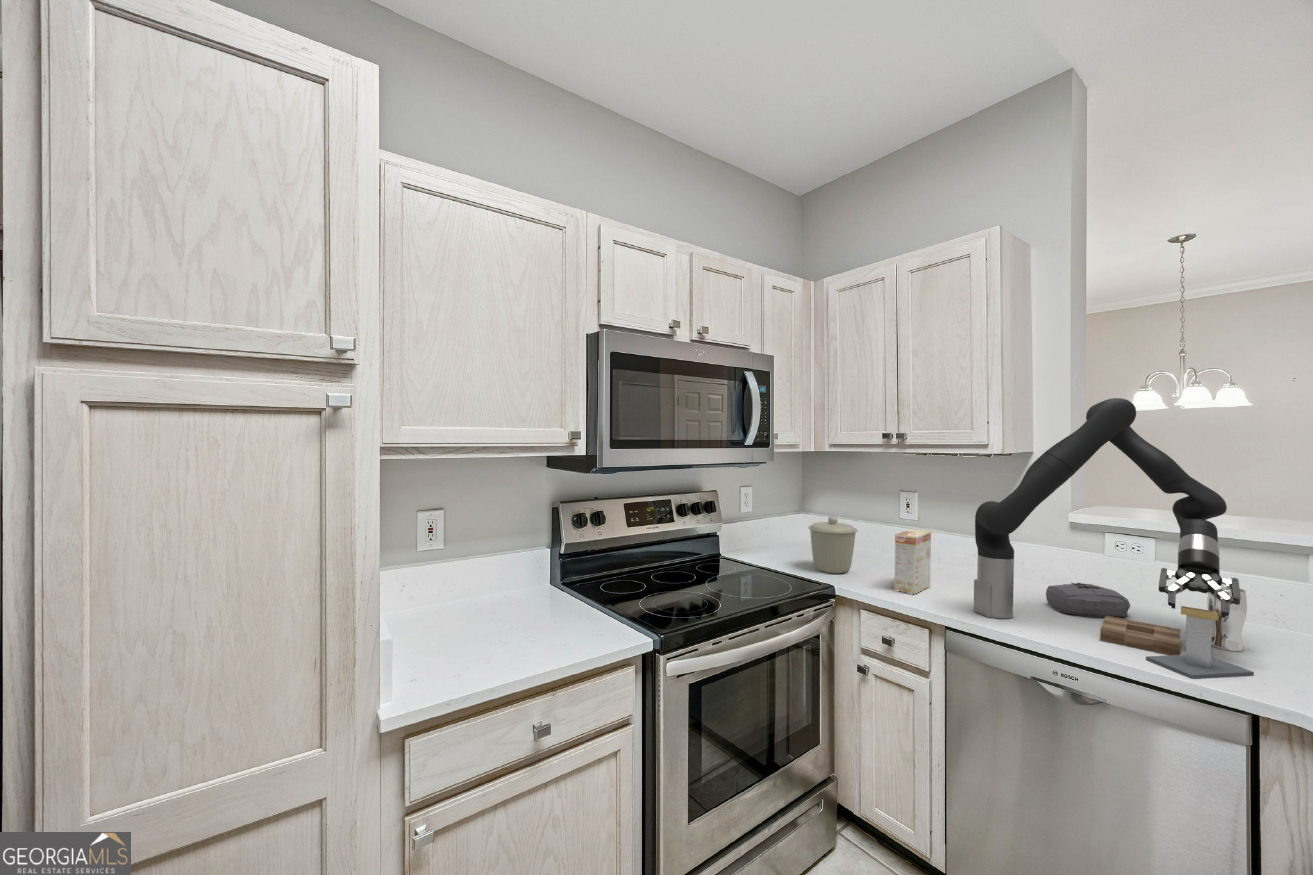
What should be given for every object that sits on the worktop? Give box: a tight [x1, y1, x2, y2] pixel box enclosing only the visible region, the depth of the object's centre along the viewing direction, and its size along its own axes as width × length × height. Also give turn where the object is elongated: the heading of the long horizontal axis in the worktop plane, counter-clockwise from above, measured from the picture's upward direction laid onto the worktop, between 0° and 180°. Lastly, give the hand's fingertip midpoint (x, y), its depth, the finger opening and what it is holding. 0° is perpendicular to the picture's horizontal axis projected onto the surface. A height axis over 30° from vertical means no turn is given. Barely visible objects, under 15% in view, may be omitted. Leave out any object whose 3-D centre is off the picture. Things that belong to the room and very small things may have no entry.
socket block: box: [1099, 616, 1181, 656], centre depth 143 cm, size 15×15×3 cm
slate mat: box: [1145, 654, 1255, 680], centre depth 126 cm, size 16×10×1 cm, turn 97°
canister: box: [808, 515, 859, 574], centre depth 212 cm, size 18×18×21 cm
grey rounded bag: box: [1045, 582, 1131, 618], centre depth 166 cm, size 15×8×20 cm
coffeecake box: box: [894, 528, 932, 595], centre depth 188 cm, size 15×7×20 cm, turn 134°
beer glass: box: [1206, 584, 1248, 653], centre depth 139 cm, size 7×7×15 cm
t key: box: [1180, 605, 1218, 669], centre depth 127 cm, size 6×4×13 cm, turn 47°
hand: (1197, 611), depth 132 cm, fingers open, 8 cm apart
